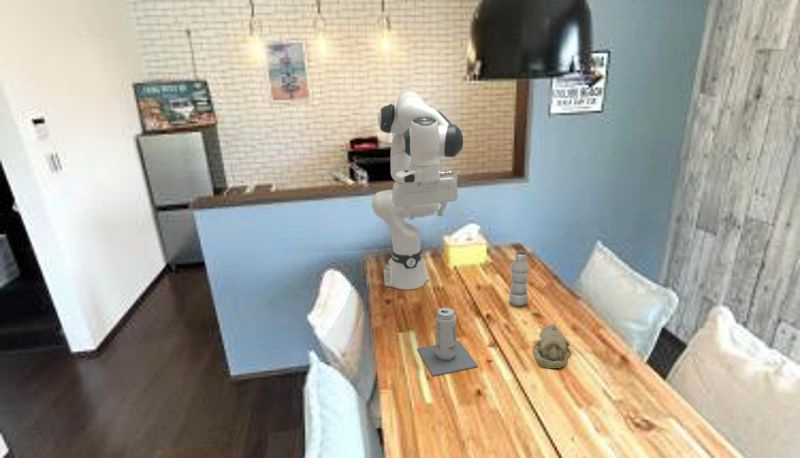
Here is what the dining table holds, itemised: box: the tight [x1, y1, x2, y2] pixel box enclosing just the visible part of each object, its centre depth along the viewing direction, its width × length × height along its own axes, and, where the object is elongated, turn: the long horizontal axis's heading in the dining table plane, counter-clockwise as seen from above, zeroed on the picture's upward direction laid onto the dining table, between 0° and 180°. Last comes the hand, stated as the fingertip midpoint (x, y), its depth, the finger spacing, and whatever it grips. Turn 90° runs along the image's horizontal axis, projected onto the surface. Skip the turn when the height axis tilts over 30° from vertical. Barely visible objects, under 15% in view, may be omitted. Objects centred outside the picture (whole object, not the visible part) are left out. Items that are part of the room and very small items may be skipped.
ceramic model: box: [532, 323, 572, 369], centre depth 137 cm, size 14×11×10 cm
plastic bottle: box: [508, 251, 530, 307], centre depth 166 cm, size 6×7×20 cm
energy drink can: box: [435, 307, 457, 360], centre depth 136 cm, size 6×6×15 cm
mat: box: [416, 340, 479, 377], centre depth 138 cm, size 14×14×1 cm
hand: (425, 217), depth 142 cm, fingers open, 8 cm apart
